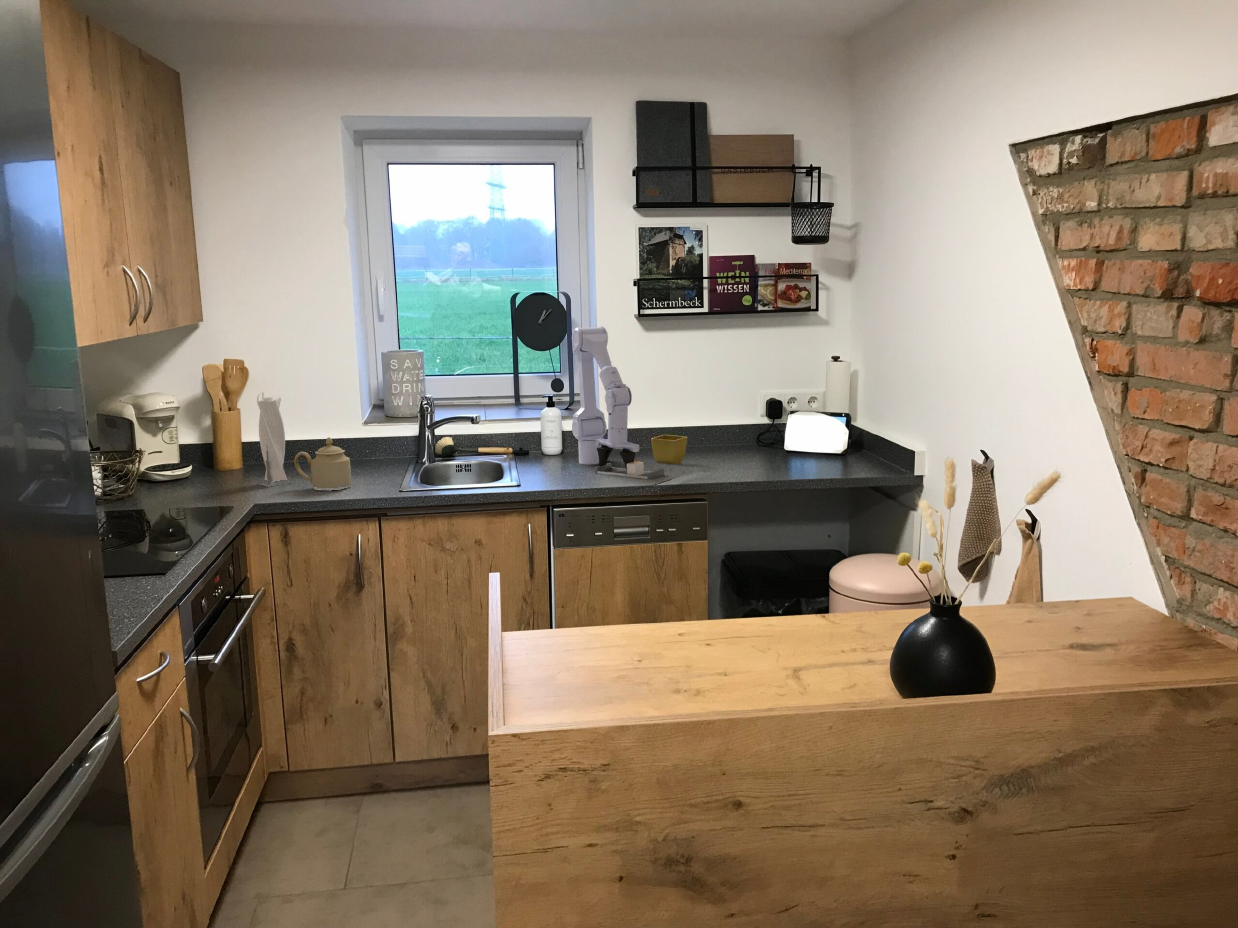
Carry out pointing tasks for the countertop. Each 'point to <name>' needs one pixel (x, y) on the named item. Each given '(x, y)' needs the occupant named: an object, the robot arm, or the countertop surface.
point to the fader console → (649, 474)
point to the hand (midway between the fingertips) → (616, 472)
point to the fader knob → (635, 468)
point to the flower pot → (669, 448)
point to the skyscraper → (272, 438)
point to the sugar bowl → (327, 467)
